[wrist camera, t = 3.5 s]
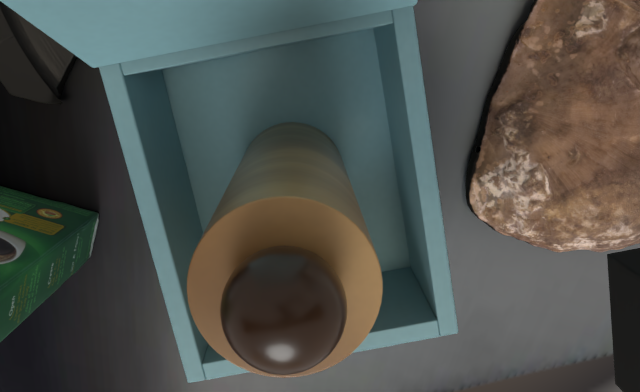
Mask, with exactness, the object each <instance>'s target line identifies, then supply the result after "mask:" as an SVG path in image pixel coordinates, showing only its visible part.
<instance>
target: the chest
mask: <svg viewBox="0 0 640 392" xmlns="http://www.w3.org/2000/svg"><path fill="white" fill-rule="evenodd" d="M99 69H100V73H101V76H102V80H103V83H104V87H105V90H106V94H107V98H108V101H109V105H110V108H111V112H112V115H113V119H114V122H115V126H116V129H117V133H118V137H119V140H120V144H121V147H122V151H123V154H124V158H125V161H126V165H127V168H128V172H129V176H130V179H131V183H132V186H133V190H134V193H135V197H136V200H137V204H138V207H139V211H140V215H141V218H142V222H143V225H144V229H145V232H146V236H147V239H148V243H149V246H150V250H151V254H152V257H153V261H154V264H155V268H156V271H157V275H158V278H159V282H160V285H161V289H162V293H163V296H164V300H165V303H166V307H167V310H168V314H169V317H170V321H171V324H172V328H173V332H174V335H175V339H176V342H177V346H178V349H179V353H180V356H181V360H182V363H183V367H184V371H185V374H186V378H187V381H188V383H191V382H197V381H202V380H205V379H207V380H209V379H214V378H220V377H225V376H230V375H236V374H241V373H247V372H250V371H247V370H245V369H243V368H240V367H238V366H236V365H234V364H233V363H231V362H229V361H228V360H226V359H225V358H224V357H222V356H221V355H220V354H218V353H217V352H216V351H215V350H214V349H213V348H212V347H211V346H210V345H209V344H208V342H207V341H206V340H205V339H204V337H203V336H202V335H201V333H200V331H199V329H198V328H197V326H196V324H195V322H194V319H193V317H192V315H191V312H190V308H189V304H188V298H187V275H188V269H189V265H190V262H191V259H192V256H193V253H194V251H195V249H196V247H197V245H198V243H199V241H200V239H201V237H202V235H203V233H204V231H205V229H206V228H207V226H208V224H209V222H210V220H211V218H212V216H213V214H214V212H215V210H216V208H217V206H218V204H219V202H220V200H221V199H222V197H223V195H224V193H225V191H226V189H227V187H228V185H229V183H230V181H231V179H232V177H233V175H234V173H235V171H236V170H237V168H238V166H239V164H240V162H241V160H242V158H243V156H244V154H245V152H246V150H247V148H248V147H249V145H250V144H251V142H252V141H253V140H254V139H255V138H256V136H258V135H259V134H260V133H261V132H263V131H264V130H266V129H267V128H269V127H271V126H274V125H277V124H280V123H286V122H299V123H304V124H308V125H311V126H313V127H315V128H317V129H319V130H321V131H322V132H324V133H325V134H326V135H327V136H328V137H329V138H330V139H331V140H332V141H333V142H334V144H335V145H336V147H337V148H338V150H339V153H340V155H341V158H342V160H343V163H344V166H345V169H346V171H347V174H348V177H349V180H350V182H351V185H352V188H353V191H354V193H355V196H356V199H357V202H358V204H359V207H360V210H361V213H362V215H363V218H364V221H365V224H366V227H367V229H368V232H369V235H370V238H371V240H372V243H373V246H374V249H375V251H376V254H377V257H378V260H379V263H380V267H381V272H382V279H383V294H382V302H381V306H380V310H379V313H378V316H377V318H376V321H375V323H374V325H373V327H372V329H371V330H370V332H369V334H368V335H367V337H366V338H365V339H364V341H363V342H362V343H361V344H360V345H359V346H358V347H357V348H356V349H355V350H354V351H353V352H352V353H354V352H360V351H365V350H370V349H376V348H381V347H387V346H392V345H397V344H403V343H408V342H413V341H419V340H424V339H430V338H435V337H439V336H445V335H451V334H456V333H458V325H457V318H456V311H455V304H454V296H453V289H452V282H451V275H450V268H449V260H448V253H447V246H446V239H445V231H444V224H443V217H442V210H441V203H440V195H439V188H438V181H437V174H436V167H435V159H434V152H433V145H432V138H431V130H430V123H429V116H428V109H427V102H426V94H425V87H424V80H423V73H422V66H421V58H420V51H419V44H418V37H417V30H416V22H415V15H414V8H413V6H408V7H403V8H398V9H393V10H388V11H383V12H378V13H373V14H367V15H362V16H357V17H352V18H347V19H342V20H337V21H332V22H326V23H321V24H316V25H311V26H306V27H301V28H296V29H291V30H286V31H280V32H275V33H270V34H265V35H260V36H255V37H250V38H245V39H240V40H234V41H229V42H224V43H219V44H214V45H209V46H204V47H199V48H193V49H188V50H183V51H178V52H173V53H168V54H163V55H158V56H153V57H147V58H142V59H137V60H132V61H127V62H122V63H117V64H112V65H107V66H101V67H99Z"/></svg>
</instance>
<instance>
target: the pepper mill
mask: <svg viewBox="0 0 640 392" xmlns="http://www.w3.org/2000/svg"><path fill="white" fill-rule="evenodd" d="M382 294H383V279H382V272H381V267H380V263H379V260H378V257H377V254H376V251H375V249H374V246H373V243H372V240H371V238H370V235H369V232H368V229H367V227H366V224H365V221H364V218H363V215H362V213H361V210H360V207H359V204H358V202H357V199H356V196H355V193H354V191H353V188H352V185H351V182H350V180H349V177H348V174H347V171H346V169H345V166H344V163H343V160H342V158H341V155H340V153H339V150H338V148H337V147H336V145H335V144H334V142H333V141H332V140H331V139H330V138H329V137H328V136H327V135H326V134H325V133H324V132H322V131H321V130H319V129H317V128H315V127H313V126H311V125H308V124H304V123H299V122H286V123H280V124H277V125H274V126H271V127H269V128H267V129H266V130H264V131H263V132H261V133H260V134H259V135H258V136H256V138H255V139H254V140H253V141H252V142H251V144H250V145H249V147H248V148H247V150H246V152H245V154H244V156H243V158H242V160H241V162H240V164H239V166H238V168H237V170H236V171H235V173H234V175H233V177H232V179H231V181H230V183H229V185H228V187H227V189H226V191H225V193H224V195H223V197H222V199H221V200H220V202H219V204H218V206H217V208H216V210H215V212H214V214H213V216H212V218H211V220H210V222H209V224H208V226H207V228H206V229H205V231H204V233H203V235H202V237H201V239H200V241H199V243H198V245H197V247H196V249H195V251H194V253H193V256H192V259H191V262H190V265H189V269H188V275H187V298H188V304H189V308H190V312H191V315H192V317H193V319H194V322H195V324H196V326H197V328H198V329H199V331H200V333H201V335H202V336H203V337H204V339H205V340H206V341H207V342H208V344H209V345H210V346H211V347H212V348H213V349H214V350H215V351H216V352H217V353H218V354H220V355H221V356H222V357H224V358H225V359H226V360H228V361H229V362H231V363H233V364H234V365H236V366H238V367H240V368H243V369H245V370H247V371H250V372H253V373H256V374H260V375H265V376H270V377H283V378H286V377H299V376H305V375H310V374H313V373H317V372H320V371H322V370H325V369H327V368H329V367H332V366H333V365H335V364H337V363H339V362H340V361H342V360H343V359H345V358H346V357H347V356H349V355H350V354H351V353H352V352H353V351H354V350H355V349H356V348H357V347H358V346H359V345H360V344H361V343H362V342H363V341H364V339H365V338H366V337H367V335H368V334H369V332H370V330H371V329H372V327H373V325H374V323H375V321H376V318H377V316H378V313H379V310H380V306H381V302H382Z"/></svg>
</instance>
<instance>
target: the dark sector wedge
mask: <svg viewBox="0 0 640 392" xmlns="http://www.w3.org/2000/svg"><path fill="white" fill-rule="evenodd" d="M76 58H77V56H76V55H74V54H73V53H71V52H70V51H69V50H67V49H66V48H65V47H63V46H62V45H60V44H59V43H58V42H56V41H55V40H53V39H52V38H51V37H49V36H48V35H47V34H45V33H44V32H42V31H41V30H40V29H38V28H37V27H36V26H34V25H33V24H31V23H30V22H29V21H27V20H26V19H24V18H23V17H22V16H20V15H19V14H18V13H16V12H15V11H13V10H12V9H11V8H9V7H8V6H6V5H5V4H4V3H2V2H1V1H0V81H1V82H2V84H3V85H4V86H5V88H6V89H7V91H8V92H9V93H10V94H11V95H14V96H18V97H22V98H25V99H31V100H33V101H37V102H41V103H49V104H61V103H62V102H61V101H60V96H61V93H62V89H63V87H64V84H65V81H66V79H67V77H68V75H69V72H70V70H71V68H72V66H73V64H74V62H75V60H76Z"/></svg>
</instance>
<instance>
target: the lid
mask: <svg viewBox="0 0 640 392" xmlns="http://www.w3.org/2000/svg"><path fill="white" fill-rule="evenodd" d="M0 1H1V2H2V3H4V4H5V5H6V6H8V7H9V8H11V9H12V10H13V11H15V12H16V13H18V14H19V15H20V16H22V17H23V18H24V19H26V20H27V21H29V22H30V23H31V24H33V25H34V26H36V27H37V28H38V29H40V30H41V31H42V32H44V33H45V34H47V35H48V36H49V37H51V38H52V39H53V40H55V41H56V42H58V43H59V44H60V45H62V46H63V47H65V48H66V49H67V50H69V51H70V52H71V53H73V54H74V55H76V56H77V57H78V58H80V59H81V60H82V61H84V62H85V63H87V64H88V65H89V66H91V67H92V68H96V67H101V66H107V65H112V64H117V63H122V62H127V61H132V60H137V59H142V58H147V57H153V56H158V55H163V54H168V53H173V52H178V51H183V50H188V49H193V48H199V47H204V46H209V45H214V44H219V43H224V42H229V41H234V40H240V39H245V38H250V37H255V36H260V35H265V34H270V33H275V32H280V31H286V30H291V29H296V28H301V27H306V26H311V25H316V24H321V23H326V22H332V21H337V20H342V19H347V18H352V17H357V16H362V15H367V14H373V13H378V12H383V11H388V10H393V9H398V8H403V7H408V6H413V5H416V4H417V1H418V0H0Z"/></svg>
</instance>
